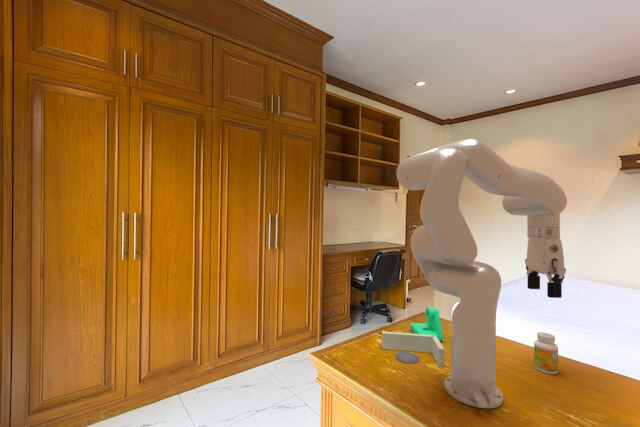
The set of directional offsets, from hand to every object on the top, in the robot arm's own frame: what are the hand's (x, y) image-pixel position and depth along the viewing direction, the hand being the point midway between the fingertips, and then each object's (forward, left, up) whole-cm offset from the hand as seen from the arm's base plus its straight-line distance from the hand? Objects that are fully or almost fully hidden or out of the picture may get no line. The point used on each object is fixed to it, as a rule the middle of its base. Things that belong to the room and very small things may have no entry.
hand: (543, 292), depth 85 cm
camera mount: (+18, +29, -22) cm, 40 cm away
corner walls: (0, +36, -21) cm, 42 cm away
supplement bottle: (-1, 0, -22) cm, 22 cm away
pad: (-1, +38, -21) cm, 43 cm away
